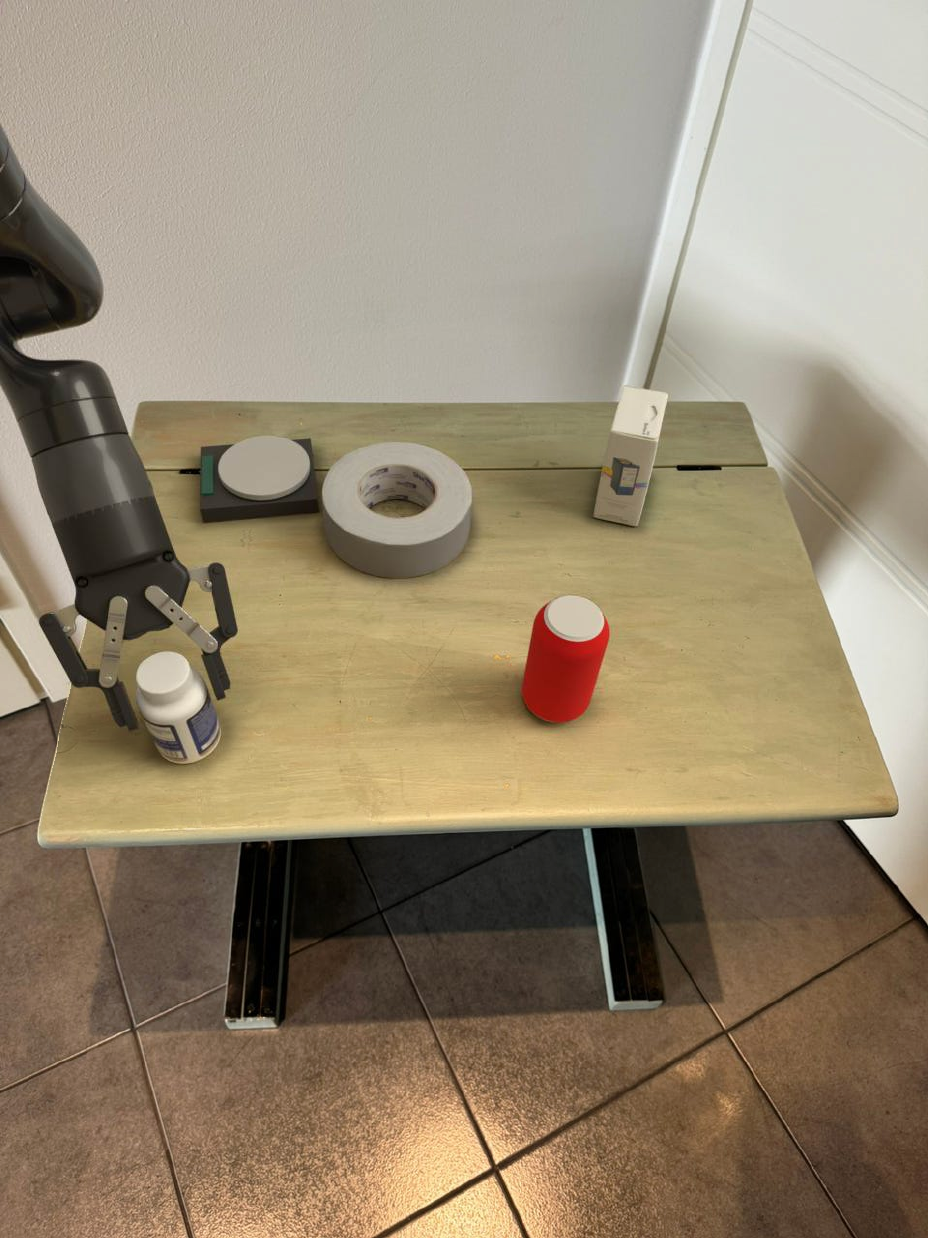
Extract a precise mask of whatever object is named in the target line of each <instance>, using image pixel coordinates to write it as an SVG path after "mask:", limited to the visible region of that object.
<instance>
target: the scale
mask: <svg viewBox="0 0 928 1238" xmlns="http://www.w3.org/2000/svg"><path fill="white" fill-rule="evenodd" d="M313 453H314V452H313V445H312V438H311V437H307V438H296V439H289V438H286V437H282V436H277V435H259V436H253V437H249V438H246V439H243V440H240V441H238V442H236V443H231V444H218V445H205V446H200V469H199V471H200V473H199V474H200V475H199V476H200V477H199V481H200V483H199V511H200V516H201V518H202V522H203V524H204V523H205V524H206V523H207V524H208V523H217V522H219V523H220V522H229V521H239V520H251V519H260V518H261V519H262V518H272V517H274V518H275V517H284V516H294V515H305V514H316V513H320V506H319V496H318V489H317V481H316V480H317V479H316V472H315V461H314V454H313Z"/></svg>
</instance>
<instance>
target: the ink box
mask: <svg viewBox="0 0 928 1238" xmlns="http://www.w3.org/2000/svg"><path fill="white" fill-rule="evenodd" d="M668 399H669V394H668V393H667V392H664V391H658V390H654V389H648V388H643V387H637V386H632V385H626V384H623V386H622V389H621V393H620V396H619V399H618V402H617V406H616V409H615V412H614V416H613V419H612V423H611V426H610V430H609V435H608V439H607V443H606V449H605V453H604V458H603V463H602V469H601V473H600V478H599V483H598V489H597V494H596V499H595V503H594V504H595V505H594V508H593V509H594V510H593V518H595V519H599V520H603V521H607V522H613V523H618V524H622V525H627V526H632V527H638V525H639V523H640V518H641V515H642V513H643V512H642V511H643V507H644V504H645V501H646V497H647V496H646V495H647V494H648V493H647V492H648V488H649V483H650V481H651V480H650V479H651V475H652V472H653V469H654V464H655V460H656V456H657V450H658V446H659V441H660V437H661V436H660V435H661V432H662V427H663V423H664V422H663V421H664V416H665V412H666V407H667V403H668Z"/></svg>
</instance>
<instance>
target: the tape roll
mask: <svg viewBox="0 0 928 1238" xmlns="http://www.w3.org/2000/svg"><path fill="white" fill-rule="evenodd" d="M389 500H404V501H409V502H413V503H415V504H417V505H419V506H421V507H422V508H423V509H424V510H422V511H421V512H419V513H416V514H414V515H410V516H402V517H401V516H400V517H397V516H396V517H395V516H394V517H393V516H386V515H383V514H381V513H377V512H376V511H374V510H372V509H370V508H371V507H372V506H374V505H376V504H379V503H381V502H383V501H389ZM321 503H322V516H323V529H324V534H325V538H326V541H327V542H328V545H329V547H330V548H331V550H332V551H333V552H334V553H335V555H336V556H337V557H338V558H339V559H341V561H343V562H344V563H346V564H347V565H349V566H350V567H352V568H354V569H355V570H358V571H360V572H362V573H365V574H367V575H372V576H376V577H379V578H385V579H386V578H387V579H388V578H389V579H409V578H416V577H421V576H425V575H429V574H431V573H435V572H436V571H438V570H441V569H442V568H444V567H446V566H448V565H449V564H450V563H451V562H453V561H454V560H455V559H456V558H457V557H458V556H459V555H460V554H461V552H462V551H463V549H464V548H465V546H466V543H467V541H468V538H469V535H470V527H471V517H472V505H473V487H472V485H471V482H470V479H469V477H468V475H467V473H466V472H465V470H464V469H463V468H462V467H461V466H460V465H459V464H458V463H457V462H456V461H455V460H453V459H452V458H451V457H450V456H448V455H446V454H444V452H441V451H440V450H437V449H435V448H433V447H429V446H426V445H423V444H419V443H413V442H407V441H406V442H405V441H404V442H403V441H386V442H385V441H383V442H378V443H371V444H369V445H366V446H362V447H359V448H356V449H354V450H351V451H350V452H347V453H346V454H344V455H343V456H341V457H340V458H339V459H338V460H337V461H335V463H334V464H333V465H332V466H331V467H330V468H329V470H328V472H327V474H326V476H325V477H324V481H323V483H322V488H321Z"/></svg>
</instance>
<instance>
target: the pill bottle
mask: <svg viewBox="0 0 928 1238" xmlns="http://www.w3.org/2000/svg"><path fill="white" fill-rule="evenodd" d="M135 680H136V684H137V686H138V687H137V689H136V692H135V702H136V706H137V709H138V711H139V714H140V715H141V717H142V721H143V722H144V724H145V726H146V728H147V730H148V732H149V735H150V736H151V738H152V741H153V744H154V745H155V747H156V749H157V751H158V752H159V754H160V755H161V756H162V757H163V758H164V759H165V760H167V761H169V762H172V763H173V764H174V763H175V764H179V765H180V764H181V765H184V764H185V765H187V764H192V763H196V762H199V761H200V760H203V759H204V758H206V757H207V756H209V755H210V754H211V753H212V752H213V751H214V750H215V749H216V748H217V746H218V745H219V742H220V739H221V734H222V728H221V724H220V720H219V717H218V715H217V711H216V710H215V709H216V708H215V706H214V703H213V700H212V698H211V694H210V692H209V689H208V685H207V683H206V681H205V679H204V676H203V675H201V673H200V672H199V671H198V670H196V669H195V668H193V667H192V666H190V663H189V661H188V660H187V658H186V657H185V656H184V655H182V654H180V653H178V652H176V651H168V650H167V651H160V652H156V653H153V654H152V655H149V656H148V657H146V658H145V659H144V660H143V661H142V662H140V664H139V666H138V667H137V670H136V673H135Z"/></svg>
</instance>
